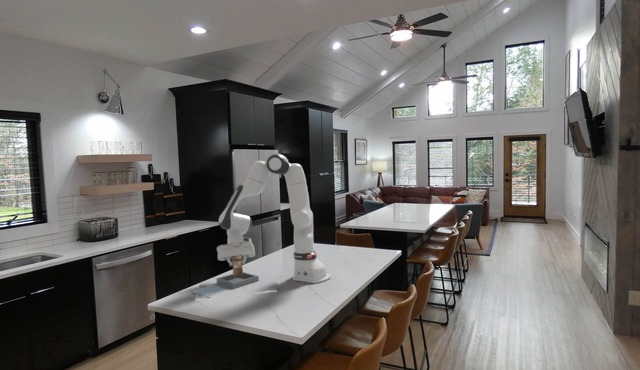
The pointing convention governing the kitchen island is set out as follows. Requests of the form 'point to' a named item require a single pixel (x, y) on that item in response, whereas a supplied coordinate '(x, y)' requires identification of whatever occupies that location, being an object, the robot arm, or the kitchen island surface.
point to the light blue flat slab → (209, 290)
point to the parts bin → (237, 280)
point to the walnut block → (237, 266)
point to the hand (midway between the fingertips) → (237, 264)
